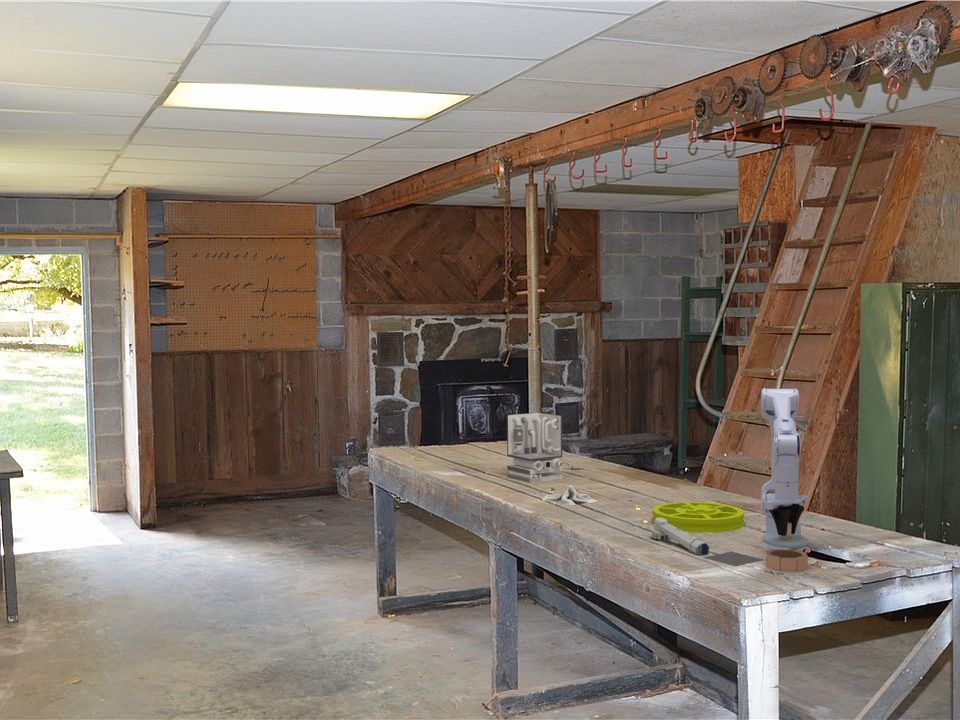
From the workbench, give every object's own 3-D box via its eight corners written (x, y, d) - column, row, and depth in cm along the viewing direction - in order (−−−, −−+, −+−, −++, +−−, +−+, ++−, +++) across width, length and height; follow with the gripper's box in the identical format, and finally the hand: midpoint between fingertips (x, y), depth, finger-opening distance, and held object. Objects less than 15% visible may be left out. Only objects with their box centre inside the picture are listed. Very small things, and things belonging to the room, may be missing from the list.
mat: (731, 552, 267) (731, 551, 267) (763, 561, 258) (763, 559, 258) (703, 558, 261) (703, 557, 261) (735, 567, 252) (735, 566, 252)
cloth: (534, 499, 350) (534, 481, 349) (583, 496, 354) (583, 479, 354) (555, 511, 328) (555, 492, 328) (607, 507, 333) (607, 489, 333)
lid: (779, 533, 259) (780, 515, 258) (816, 543, 250) (817, 524, 250) (753, 540, 252) (754, 521, 252) (790, 550, 244) (791, 530, 243)
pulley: (744, 516, 315) (744, 501, 315) (743, 535, 289) (743, 518, 288) (656, 512, 323) (656, 497, 323) (648, 531, 296) (648, 514, 296)
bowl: (782, 560, 258) (783, 547, 258) (815, 568, 250) (815, 554, 250) (757, 566, 253) (757, 552, 252) (789, 574, 244) (789, 560, 244)
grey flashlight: (695, 543, 262) (648, 513, 285) (693, 567, 263) (646, 535, 286) (712, 541, 264) (663, 512, 287) (710, 565, 265) (662, 533, 288)
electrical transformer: (539, 473, 402) (538, 412, 401) (567, 480, 386) (567, 416, 384) (507, 477, 393) (506, 415, 392) (535, 484, 377) (534, 419, 376)
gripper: (780, 486, 243) (780, 541, 243) (817, 480, 251) (817, 533, 252) (758, 482, 249) (757, 535, 249) (795, 476, 257) (794, 528, 257)
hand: (786, 534), depth 251 cm, fingers closed on lid, 3 cm apart
